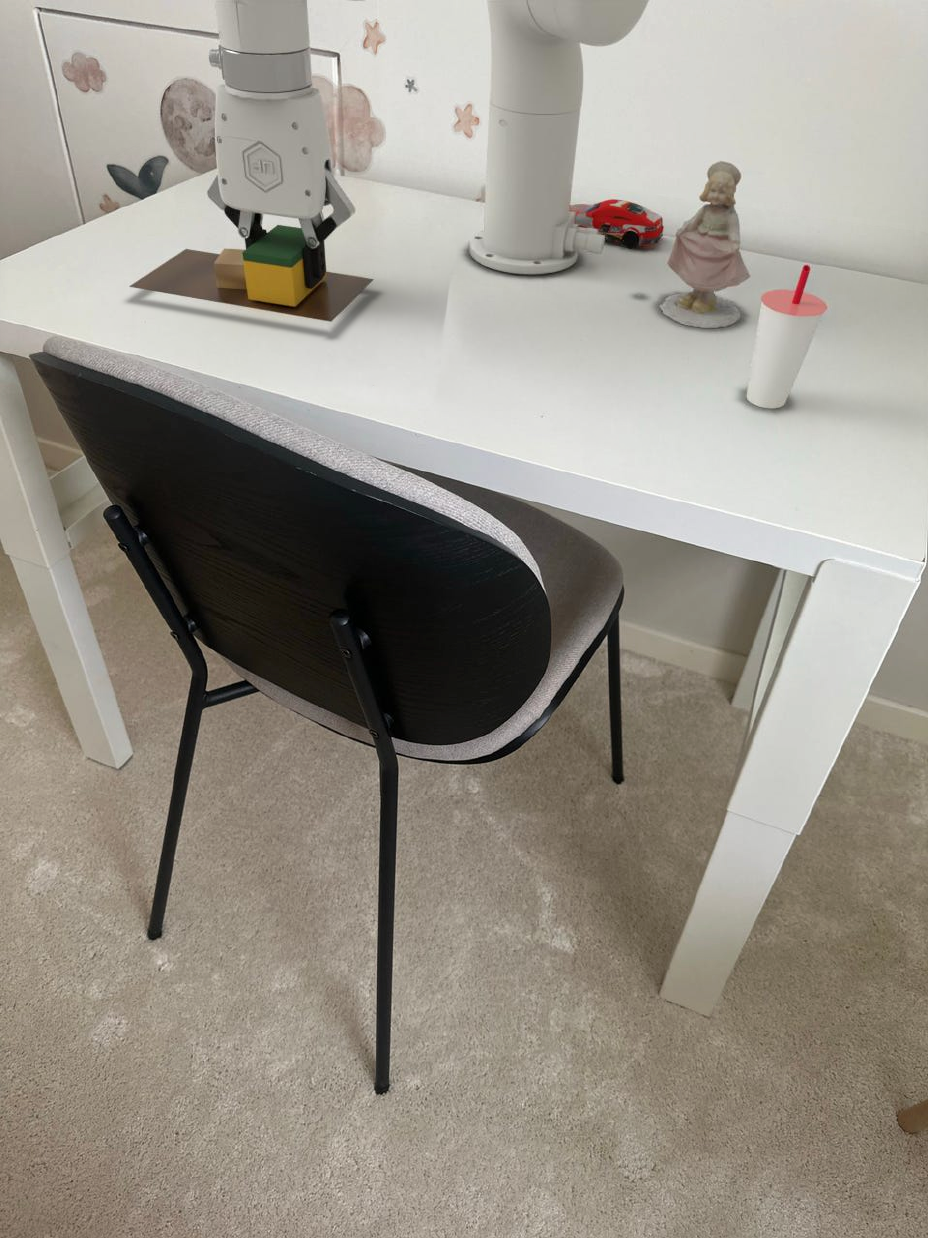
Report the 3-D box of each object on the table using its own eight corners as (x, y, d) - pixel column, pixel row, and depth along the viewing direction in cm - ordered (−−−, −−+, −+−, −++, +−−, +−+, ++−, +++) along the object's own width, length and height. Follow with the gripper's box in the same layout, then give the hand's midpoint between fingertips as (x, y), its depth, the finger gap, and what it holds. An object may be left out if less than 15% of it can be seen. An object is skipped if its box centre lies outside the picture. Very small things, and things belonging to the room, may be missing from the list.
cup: (796, 418, 77) (840, 281, 69) (733, 408, 78) (769, 272, 70) (796, 390, 81) (838, 257, 73) (736, 380, 82) (771, 248, 74)
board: (374, 292, 94) (373, 278, 93) (332, 335, 86) (331, 321, 85) (188, 262, 98) (185, 248, 97) (132, 300, 90) (129, 286, 89)
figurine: (628, 318, 90) (660, 152, 84) (637, 311, 99) (667, 161, 92) (737, 335, 88) (778, 166, 82) (736, 326, 97) (773, 174, 90)
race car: (547, 233, 109) (551, 199, 106) (563, 220, 112) (566, 186, 110) (652, 253, 105) (658, 218, 102) (664, 239, 108) (670, 204, 106)
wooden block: (265, 274, 93) (262, 250, 91) (256, 290, 90) (253, 265, 88) (227, 272, 93) (224, 247, 91) (217, 287, 90) (213, 263, 88)
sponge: (326, 276, 92) (323, 230, 89) (295, 306, 86) (290, 259, 83) (282, 269, 93) (277, 224, 90) (248, 299, 87) (242, 251, 84)
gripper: (156, 69, 76) (192, 281, 88) (343, 90, 73) (354, 306, 85) (199, 52, 81) (227, 254, 93) (375, 71, 78) (380, 277, 90)
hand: (287, 277), depth 89 cm, fingers closed on sponge, 5 cm apart
